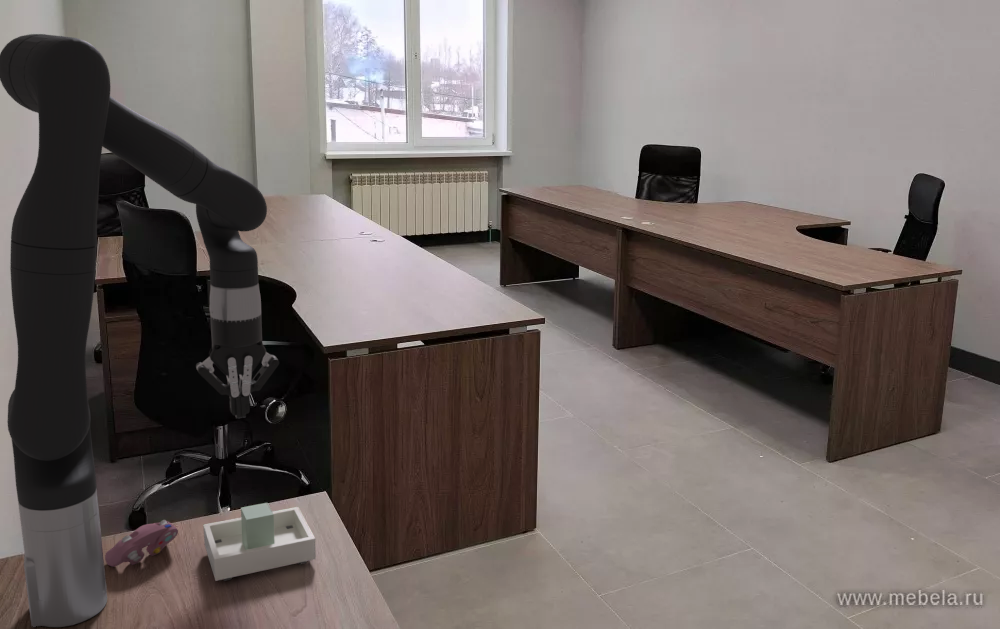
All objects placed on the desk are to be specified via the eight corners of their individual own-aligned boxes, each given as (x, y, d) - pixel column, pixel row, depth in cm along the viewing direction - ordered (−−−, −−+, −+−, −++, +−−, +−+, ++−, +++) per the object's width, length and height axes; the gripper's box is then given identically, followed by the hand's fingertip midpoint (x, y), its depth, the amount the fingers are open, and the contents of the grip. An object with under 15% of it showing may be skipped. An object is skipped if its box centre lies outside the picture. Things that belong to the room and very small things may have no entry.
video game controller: (116, 582, 122) (125, 552, 119) (100, 560, 124) (108, 530, 121) (176, 554, 130) (185, 525, 127) (160, 534, 132) (169, 505, 129)
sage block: (247, 555, 124) (246, 519, 122) (242, 542, 127) (240, 507, 126) (274, 549, 126) (273, 514, 124) (268, 537, 129) (267, 502, 128)
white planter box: (215, 587, 119) (214, 559, 118) (204, 551, 128) (203, 524, 127) (315, 565, 126) (315, 538, 125) (298, 532, 135) (298, 506, 134)
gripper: (194, 322, 122) (200, 431, 126) (284, 314, 128) (287, 419, 132) (187, 309, 128) (193, 413, 133) (273, 302, 134) (276, 402, 139)
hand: (240, 416), depth 132 cm, fingers closed
